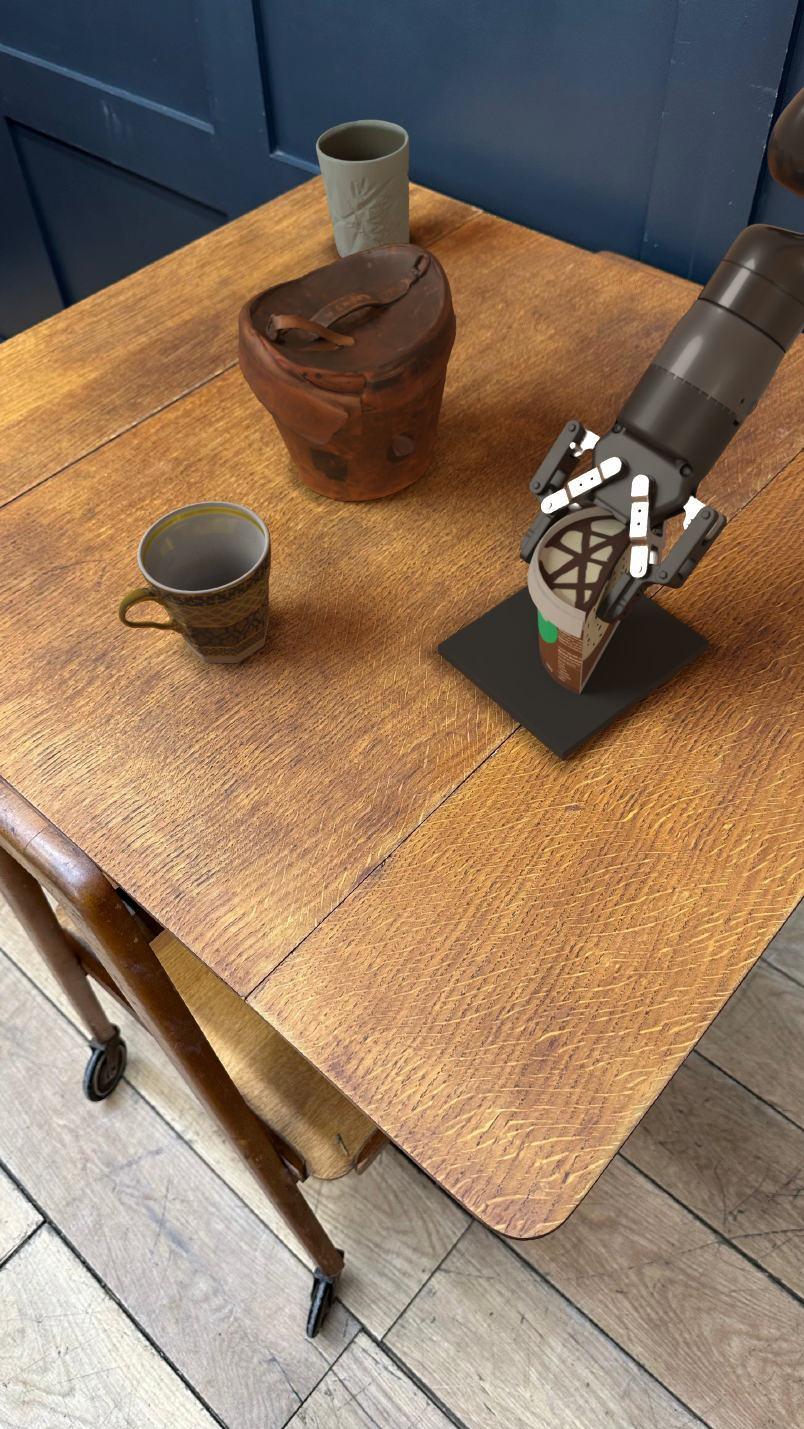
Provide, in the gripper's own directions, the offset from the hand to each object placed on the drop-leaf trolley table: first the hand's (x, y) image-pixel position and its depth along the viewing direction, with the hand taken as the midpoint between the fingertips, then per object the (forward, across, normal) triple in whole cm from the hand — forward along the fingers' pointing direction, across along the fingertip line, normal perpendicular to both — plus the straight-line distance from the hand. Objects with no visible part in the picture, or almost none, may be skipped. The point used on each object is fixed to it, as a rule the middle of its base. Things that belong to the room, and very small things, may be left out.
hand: (565, 590), depth 75 cm
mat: (+4, 0, +6) cm, 8 cm away
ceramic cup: (+20, -20, -9) cm, 29 cm away
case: (+3, -30, +8) cm, 31 cm away
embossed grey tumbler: (-14, -60, +26) cm, 67 cm away
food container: (+4, 0, +6) cm, 7 cm away
